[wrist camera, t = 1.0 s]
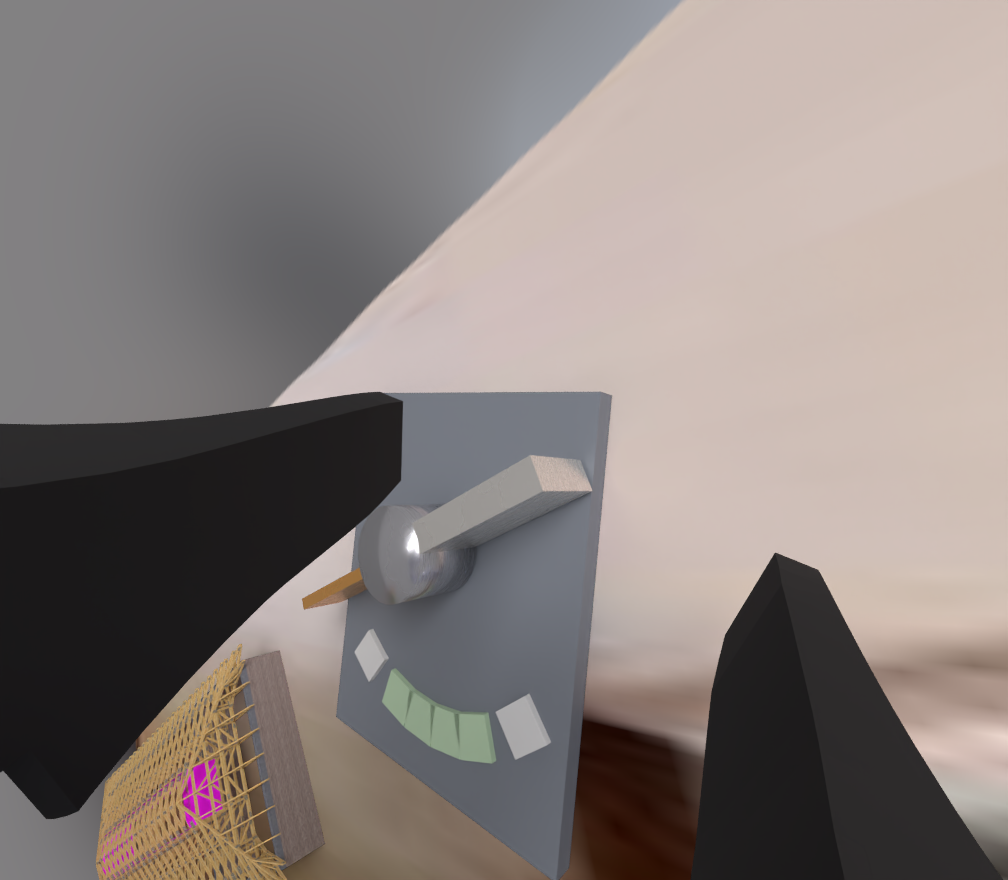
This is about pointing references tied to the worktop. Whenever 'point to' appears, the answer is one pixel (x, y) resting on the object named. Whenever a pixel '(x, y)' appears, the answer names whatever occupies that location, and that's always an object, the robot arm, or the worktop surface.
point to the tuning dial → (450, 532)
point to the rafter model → (213, 786)
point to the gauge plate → (489, 624)
